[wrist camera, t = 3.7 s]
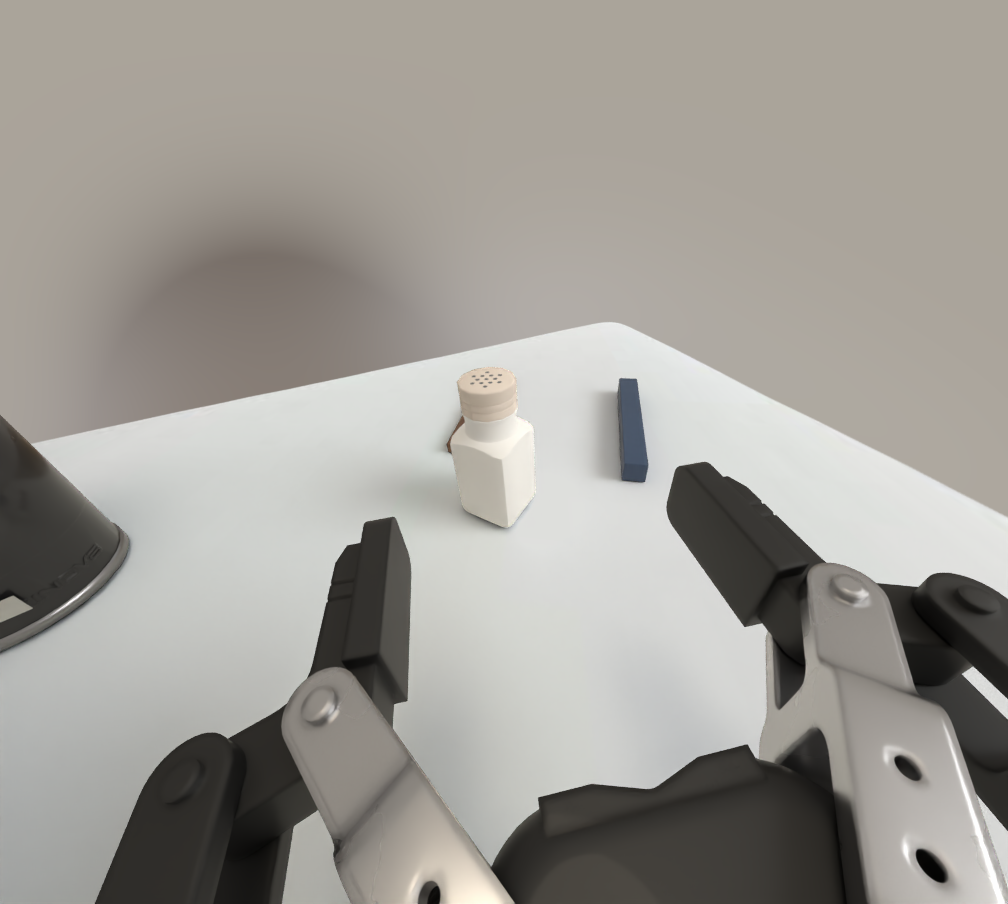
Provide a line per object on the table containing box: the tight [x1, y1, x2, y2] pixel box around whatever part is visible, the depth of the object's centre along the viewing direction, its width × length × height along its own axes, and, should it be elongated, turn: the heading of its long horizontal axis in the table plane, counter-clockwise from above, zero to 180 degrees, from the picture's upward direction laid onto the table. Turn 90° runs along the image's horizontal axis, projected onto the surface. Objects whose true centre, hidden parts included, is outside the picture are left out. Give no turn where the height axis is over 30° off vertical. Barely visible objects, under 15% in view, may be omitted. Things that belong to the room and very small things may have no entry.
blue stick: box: [618, 378, 648, 482], centre depth 31 cm, size 2×13×2 cm, turn 168°
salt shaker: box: [450, 367, 536, 528], centre depth 23 cm, size 4×4×10 cm
